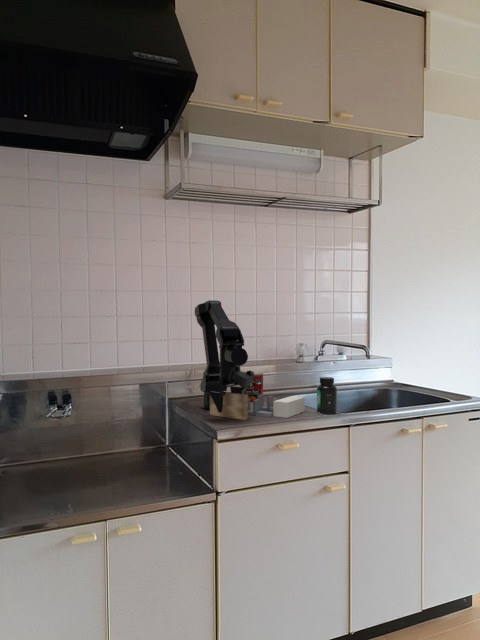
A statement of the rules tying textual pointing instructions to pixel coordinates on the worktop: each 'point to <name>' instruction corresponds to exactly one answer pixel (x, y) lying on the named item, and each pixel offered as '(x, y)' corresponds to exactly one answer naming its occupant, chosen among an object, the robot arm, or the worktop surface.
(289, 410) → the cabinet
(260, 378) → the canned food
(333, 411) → the supplement bottle
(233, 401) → the door panel
